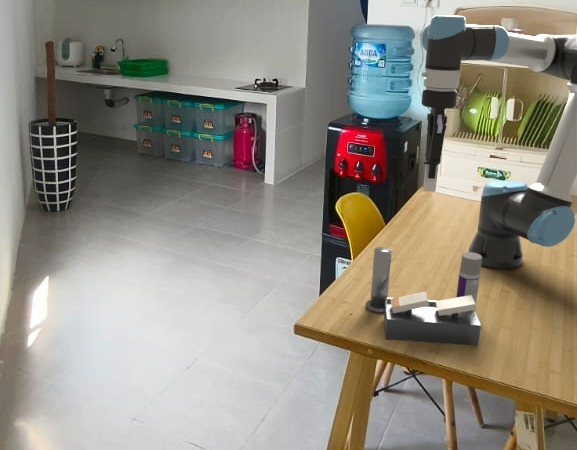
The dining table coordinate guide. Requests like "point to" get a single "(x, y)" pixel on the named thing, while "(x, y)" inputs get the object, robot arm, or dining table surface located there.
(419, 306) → the paddle
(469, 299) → the paddle
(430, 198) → the dining table surface
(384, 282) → the post
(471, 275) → the container
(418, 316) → the grey channel rail
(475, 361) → the dining table surface
